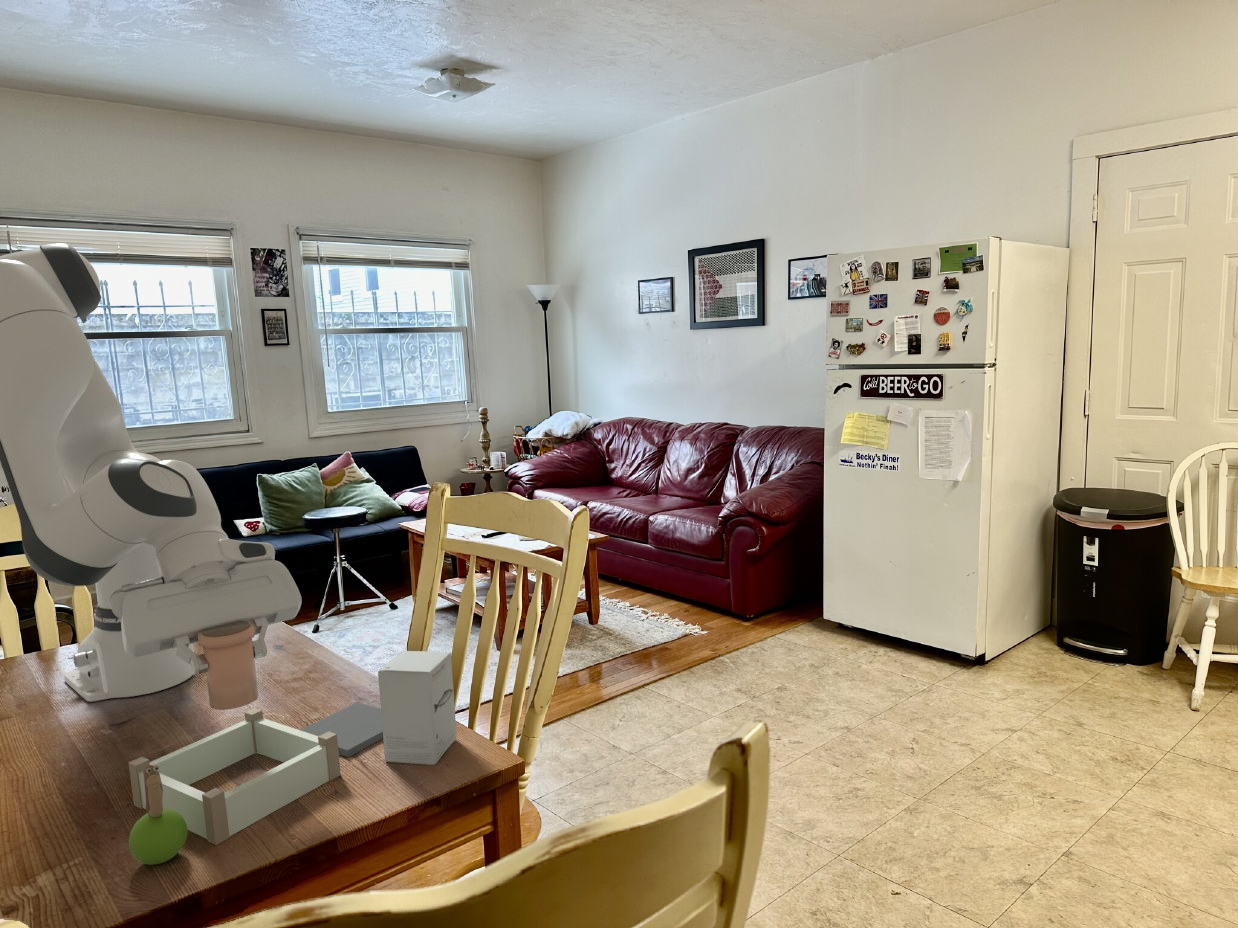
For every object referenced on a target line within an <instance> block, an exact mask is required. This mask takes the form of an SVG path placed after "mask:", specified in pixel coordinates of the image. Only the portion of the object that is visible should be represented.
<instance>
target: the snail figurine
mask: <svg viewBox="0 0 1238 928" xmlns="http://www.w3.org/2000/svg"><path fill="white" fill-rule="evenodd" d="M158 769H159V766H157V765H156V766H153V765H149V766H147V767H146V768H145V769H144V771H143V776H144V785H145V795H146V806H145V808H146V809H145V811H146V813H145V814H143V815H142V816H141V817H140V818H138V820H136V822H135V823H134V825H133V827H132V829H131V831H130V832H129V838H128V848H129V851H130V854H132V856H133V858H135V859H136V861H138V862H140V863H142V864H146V865H159V864H163V863H166V862H167V861H169V860H172V858H174V857H176V855H177V854H178V853H179V852H180V851H181V850H182V849H183V847H184V845H185V842H186V840H187V836H188V830H187V825H186V822H185V820H184V818H183V817H182V816H181V815H180V814H179V813H178V812H176V811H174V810H171V809H163V788H162V782H161V778H160V774H159V772H158V771H157V770H158Z"/></svg>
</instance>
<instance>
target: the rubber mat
mask: <svg viewBox="0 0 1238 928" xmlns="http://www.w3.org/2000/svg"><path fill="white" fill-rule="evenodd" d="M299 730H300V731H303V732H306V733H310V734H313V735H316V736H320V735H322V734H324V733H326V732H328V731H329V732H332V733H335V734H337V741H338V752H339V756H344V757H347V758H350V757H351V756H353V755H355V754H357V753H359V752H360V751H362V750H364V749H366V748H369V747H370V746H371V745H373V744H375V743H377V742H379V741H381V740H383V728H382V716H381V708H379V707H375V706H372V705H369V704H365V703H361V702H355V703H353V704H351V705H349V706H346V707H345V708H342V709H340V710H338V711H336V712H333V713H331V714H330V715H327V716H326V717H323V718H322V719H320V720H317V721H315V722H312V724H309V725H307V726H305V727H303V728H301V729H299Z"/></svg>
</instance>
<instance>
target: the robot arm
mask: <svg viewBox="0 0 1238 928" xmlns="http://www.w3.org/2000/svg"><path fill="white" fill-rule="evenodd" d="M101 300H102V295H101V283H100V279H99V277H98V273H97V272H96V270H95V268H94V266H93V265H92V264H91V263H90V261H88V259H87V258H86V257H84V256H83V255H82V254H81V253H79V252H78V250H76V248H75V247H74V246H71V245H69V244H66V243H64V242H63V243H62V242H60V243H59V242H57V243H47V244H41V245H39V248H32V249H26V250H21V251H16V252H11V253H7V254H2V255H0V465H1V468H2V471H3V474H4V475H5V479H6V483H7V486H8V489H9V491H10V494H11V496H12V500H13V502H14V505H15V508H16V509H15V510H16V511H17V515H18V519H19V524H20V532H21V542H22V547H23V548H22V549H23V552H24V555H25V558H26V560H27V562H28V564H29V566H30V568H32V570H33V571H34V572H35V573H36V574H37V575H38V576H40V577H41V578H42V579H44V580H46V581H48V582H50V583H54V584H57V585H63V586H68V587H85V586H86V587H87V586H91V585H92V586H93V585H95V592H96V599H97V604H94V605H93V606H92V607H93V608H95V609H94V610H93V612H94V613H93V618H94V621H93V626H94V628H92V630H91V631H90V632H89V634H88V635H87V636H86V637H85V638H84V639H83V640H82V641H81V642H80V643H79V645H78V648H77V653H75V654H73V656H72V657H73V658H72V659H73V663H74V666H75V669H72V670H71V671H69V672H67V673H66V674H64V682H65V683H67V685H68V686H70V687H71V688H72V689H73V690H74V691H75V692H76V693H78V694H79V695H80V697H82V698H83V699H84V700H85V701H86V702H98V701H104V700H108V699H115V698H116V699H117V698H118V699H119V698H129V697H135V696H142V695H143V696H144V695H148V694H151V693H155V692H160V691H162V690H166V689H169V688H172V687H174V686H176V685H179V684H181V683H183V682H185V681H187V680H188V679H190V678H191V677H192V676H198V675H200V674H206V672H207V671H208V670H207V669H208V663H207V661H206V657H205V654H204V653H200V654H197V653H195V649H194V644H196V643H197V644H198V632H199V631H203V630H204V629H206V628H210V627H214V626H219V625H223V624H227V623H231V622H236V621H249V622H252V623H254V628H255V636H256V635H258V638H257V639H255V640H252V642H253V651H254V660H256V659H261V658H265V657H266V656H267V654H268V648H267V645H266V641H265V637H266V633H267V630H268V627H269V625H274V624H278V623H281V622H285V621H290V620H293V619H295V618H296V616H297V615H298V613H299V612H300V610H301V606H302V601H303V600H302V595H301V593H300V590H299V587H298V586H297V584H296V582H295V580H294V578H293V576H292V575H291V573H290V571H289V569H288V568H287V567H286V566H285V564H284V563H282V562H281V561H278V560H275V558H276V557H275V555H276V550H275V548H274V545H273V544H272V543H268V542H259V541H258V542H256V541H246V540H245V541H244V540H237V539H236V540H235V539H230V538H229V536H228V534H227V533H226V532H225V531H224V530H223V528H222V525H221V524H222V518H221V517H222V516H221V513H220V510H219V507H218V505H217V503H216V500H215V498H214V496H213V494H212V492H211V490H210V488H209V485H208V484H207V482H206V481H205V479H204V477H202V474H200V472H199V471H198V470H197V469H196V467H194V466H193V465H192V464H190V463H187V462H185V461H182V460H179V459H178V460H177V459H165V460H161V459H160V458H158V457H156V456H154V455H152V454H148V453H145V452H144V453H143V452H139V451H138V450H137V449H136V448H135V446H134V444H133V443H132V440H131V438H130V434H129V432H128V430H127V426H126V423H125V421H124V418H123V416H124V415H123V407H122V405H121V403H120V401H119V400H118V398H117V396H116V394H115V392H114V391H113V389H112V386H111V385H110V384H109V381H108V380H107V378H106V376H105V375H104V372H103V371H102V370H101V368H100V365H99V364H98V362H97V360H96V359H95V356H94V355H93V352H92V347H91V345H90V343H89V341H88V339H87V336H86V335H85V333H84V331H83V330H82V328H81V326H80V325H79V323H78V322H77V320H76V318H79V319H80V320H81V322H82V324H85V323H86V322H87V317H88V316H89V315H91V313H92V312H94V311H96V309H98V307H99V304H100V301H101ZM92 314H93V313H92ZM64 477H65V478H64ZM66 481H67V483H66ZM67 484H68V486H69V488H70V491H71V492H72V493H71V494H70V491H69V489H68V487H67Z"/></svg>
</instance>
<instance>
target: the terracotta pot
mask: <svg viewBox="0 0 1238 928" xmlns="http://www.w3.org/2000/svg"><path fill="white" fill-rule="evenodd" d="M255 636H256V635H255V628H254V623H252V622H249V621H236V622H231V623H227V624H223V625H219V626H214V627H210V628H206V629H204V630H203V631H199V632H198V642H197V644H198V646H200V647H201V648H202V649H203V650H202V651H203V654H205V657H206V661H207V663H208V669H207V670H208V671H207V672H205V675H206V683H207V685H206V686H207V692H208V700H209V707H210V708H211V709H214V710H217V711H218V710H219V711H225V710H226V711H227V710H233V709H238V708H241V707H245V706H247V705H249V704H252V703H253V702H255V701H257V700H258V698H259V687H258V680H257V671H256V662H255V660H256V659H254V651H253V642H252V641H253V638H254V637H255Z"/></svg>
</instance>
